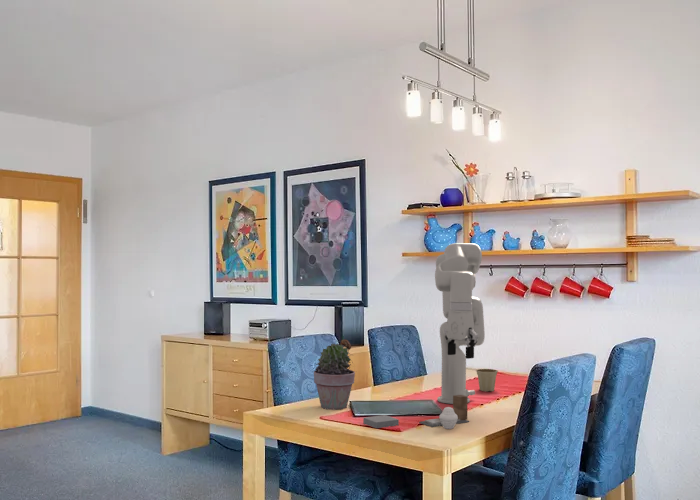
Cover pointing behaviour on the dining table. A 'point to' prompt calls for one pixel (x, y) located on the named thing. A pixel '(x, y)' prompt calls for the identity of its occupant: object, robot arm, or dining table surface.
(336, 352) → the potted plant
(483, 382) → the flower pot
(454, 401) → the turner
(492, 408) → the dining table surface
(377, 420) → the tile
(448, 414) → the muffin
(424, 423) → the mat
